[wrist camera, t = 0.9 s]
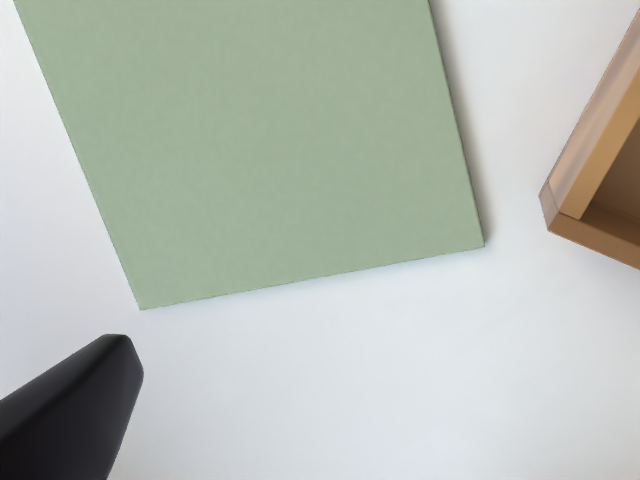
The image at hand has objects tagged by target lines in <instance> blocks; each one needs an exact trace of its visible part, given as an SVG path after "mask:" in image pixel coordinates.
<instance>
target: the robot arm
mask: <svg viewBox="0 0 640 480" xmlns="http://www.w3.org/2000/svg"><path fill="white" fill-rule="evenodd" d="M143 377H144V372H143V367H142V364H141V362H140V360H139V357H138V355H137V352H136V350H135V348H134V345H133V343H132V341H131V339H130V338H129V337H128V336H126V335H121V334H105V335H102V336H101V337H99V338H97V339H96V340H94V341H93V342H91V343H90V344H88V345H86V346H85V347H83V348H82V349H80V350H79V351H77V352H76V353H74V354H72V355H71V356H69V357H68V358H66V359H65V360H63V361H61V362H60V363H58V364H57V365H55V366H54V367H52V368H50V369H49V370H47V371H46V372H44V373H43V374H41V375H39V376H38V377H36V378H35V379H33V380H32V381H30V382H28V383H27V384H25V385H24V386H22V387H21V388H19V389H17V390H16V391H14V392H13V393H11V394H10V395H8V396H7V397H5V398H3V399H2V400H0V480H107V478H108V475H109V473H110V471H111V469H112V466H113V464H114V462H115V459H116V456H117V454H118V451H119V449H120V446H121V443H122V440H123V437H124V434H125V432H126V429H127V426H128V423H129V420H130V417H131V414H132V411H133V409H134V406H135V403H136V400H137V397H138V394H139V391H140V388H141V386H142V382H143Z"/></svg>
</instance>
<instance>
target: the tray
mask: <svg viewBox="0 0 640 480" xmlns="http://www.w3.org/2000/svg"><path fill="white" fill-rule="evenodd" d="M538 196H539V199H540V202H541V206H542V210H543V214H544V218H545V222H546V226H547V230H548V231H549V232H551V233H553V234H556V235H558V236H561V237H563V238H565V239H568V240H570V241H572V242H575V243H577V244H580V245H582V246H584V247H587V248H589V249H591V250H594V251H596V252H598V253H601V254H603V255H606V256H608V257H610V258H613V259H615V260H617V261H620V262H622V263H625V264H627V265H629V266H632V267H634V268H636V269H639V270H640V9H639V10H638V12H637V14H636V16H635V18H634V20H633V21H632V23H631V25H630V27H629V29H628V31H627V33H626V34H625V36H624V38H623V40H622V42H621V44H620V45H619V47H618V49H617V51H616V53H615V55H614V57H613V58H612V60H611V62H610V64H609V66H608V68H607V69H606V71H605V73H604V75H603V77H602V79H601V81H600V82H599V84H598V86H597V88H596V90H595V92H594V93H593V95H592V97H591V99H590V101H589V103H588V105H587V106H586V108H585V110H584V112H583V114H582V116H581V117H580V119H579V121H578V123H577V125H576V127H575V129H574V130H573V132H572V134H571V136H570V138H569V140H568V141H567V143H566V145H565V147H564V149H563V151H562V153H561V154H560V156H559V158H558V160H557V162H556V164H555V165H554V167H553V169H552V171H551V173H550V175H549V177H548V178H547V180H546V182H545V184H544V186H543V188H542V189H541V191H540V193H539V195H538Z"/></svg>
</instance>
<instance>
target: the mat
mask: <svg viewBox="0 0 640 480" xmlns="http://www.w3.org/2000/svg"><path fill="white" fill-rule="evenodd" d="M13 2H14V4H15V7H16V9H17V12H18V14H19V16H20V19H21V21H22V24H23V26H24V29H25V31H26V34H27V36H28V38H29V41H30V43H31V46H32V48H33V51H34V53H35V55H36V58H37V60H38V63H39V65H40V68H41V70H42V73H43V75H44V77H45V80H46V82H47V85H48V87H49V90H50V92H51V94H52V97H53V99H54V102H55V104H56V107H57V109H58V111H59V114H60V116H61V119H62V121H63V124H64V126H65V129H66V131H67V133H68V136H69V138H70V141H71V143H72V146H73V148H74V150H75V153H76V155H77V158H78V160H79V163H80V165H81V168H82V170H83V172H84V175H85V177H86V180H87V182H88V185H89V187H90V189H91V192H92V194H93V197H94V199H95V202H96V204H97V207H98V209H99V211H100V214H101V216H102V219H103V221H104V224H105V226H106V228H107V231H108V233H109V236H110V238H111V241H112V243H113V246H114V248H115V250H116V253H117V255H118V258H119V260H120V263H121V265H122V267H123V270H124V272H125V275H126V277H127V280H128V282H129V285H130V287H131V289H132V292H133V294H134V297H135V299H136V302H137V304H138V306H139V309H140V310H145V309H150V308H156V307H161V306H167V305H172V304H178V303H183V302H189V301H194V300H200V299H205V298H210V297H216V296H221V295H227V294H232V293H238V292H243V291H249V290H254V289H260V288H265V287H270V286H276V285H281V284H287V283H292V282H298V281H303V280H309V279H314V278H320V277H325V276H330V275H336V274H341V273H347V272H352V271H358V270H363V269H369V268H374V267H380V266H385V265H391V264H396V263H401V262H407V261H412V260H418V259H423V258H429V257H434V256H440V255H445V254H451V253H456V252H461V251H467V250H472V249H478V248H483V247H485V240H484V236H483V232H482V227H481V223H480V219H479V215H478V210H477V206H476V202H475V197H474V193H473V189H472V184H471V180H470V176H469V171H468V167H467V163H466V158H465V154H464V150H463V145H462V141H461V137H460V133H459V128H458V124H457V120H456V115H455V111H454V107H453V102H452V98H451V94H450V89H449V85H448V81H447V76H446V72H445V68H444V63H443V59H442V55H441V51H440V46H439V42H438V38H437V33H436V29H435V25H434V20H433V16H432V12H431V7H430V3H429V0H13Z"/></svg>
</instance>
